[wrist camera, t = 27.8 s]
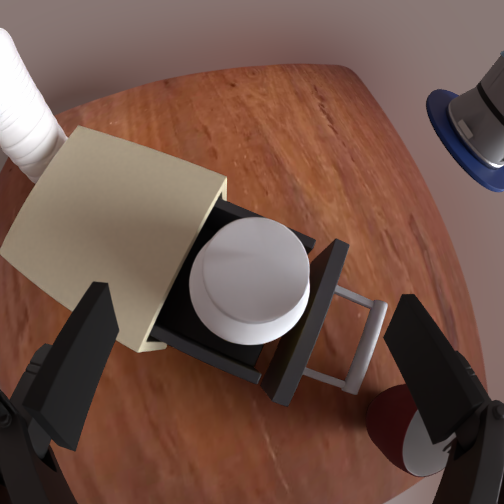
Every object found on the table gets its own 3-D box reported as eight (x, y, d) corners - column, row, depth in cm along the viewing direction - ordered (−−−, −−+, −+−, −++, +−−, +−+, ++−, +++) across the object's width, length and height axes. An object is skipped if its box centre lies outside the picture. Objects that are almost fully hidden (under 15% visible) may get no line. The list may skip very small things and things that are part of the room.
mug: (406, 343, 26) (471, 338, 17) (436, 393, 25) (498, 400, 15) (333, 411, 24) (383, 440, 14) (370, 459, 22) (422, 493, 13)
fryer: (226, 222, 29) (227, 176, 21) (165, 349, 25) (137, 352, 16) (106, 172, 29) (78, 125, 21) (46, 276, 25) (-2, 252, 17)
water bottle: (88, 178, 29) (-16, 2, 5) (45, 206, 28) (-82, 63, 4) (75, 134, 31) (2, -16, 7) (36, 159, 29) (-53, 27, 6)
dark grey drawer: (373, 290, 27) (411, 274, 21) (329, 409, 23) (360, 427, 17) (185, 207, 28) (174, 169, 21) (126, 322, 24) (94, 315, 18)
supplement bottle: (293, 323, 24) (356, 305, 12) (222, 356, 23) (217, 373, 11) (260, 255, 26) (290, 179, 14) (191, 284, 25) (157, 228, 12)
